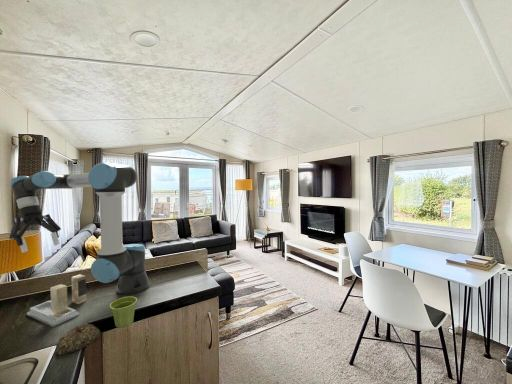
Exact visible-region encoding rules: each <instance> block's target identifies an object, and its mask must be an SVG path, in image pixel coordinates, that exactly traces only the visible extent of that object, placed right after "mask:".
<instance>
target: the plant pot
mask: <svg viewBox="0 0 512 384" xmlns="http://www.w3.org/2000/svg"><path fill="white" fill-rule="evenodd" d="M137 302H138V297H135V296H123V297H120V298H117V299H115V300H113V301H112V302H111V303H110V304H109V309H110V310H111V312H112V315H113V321H114V324H115V325H114V326H115V327H116V328H118V329H124V328H126V327H128V326H130V325H132V324H133V323H134V319H135V318H134V317H135V310H136V309H135V308H136V304H137Z"/></svg>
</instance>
